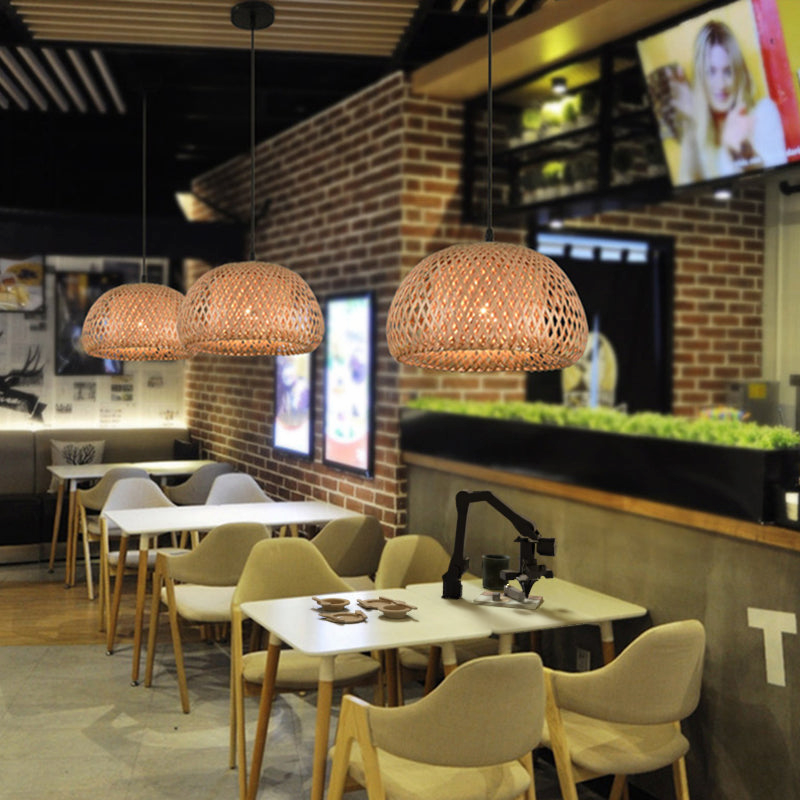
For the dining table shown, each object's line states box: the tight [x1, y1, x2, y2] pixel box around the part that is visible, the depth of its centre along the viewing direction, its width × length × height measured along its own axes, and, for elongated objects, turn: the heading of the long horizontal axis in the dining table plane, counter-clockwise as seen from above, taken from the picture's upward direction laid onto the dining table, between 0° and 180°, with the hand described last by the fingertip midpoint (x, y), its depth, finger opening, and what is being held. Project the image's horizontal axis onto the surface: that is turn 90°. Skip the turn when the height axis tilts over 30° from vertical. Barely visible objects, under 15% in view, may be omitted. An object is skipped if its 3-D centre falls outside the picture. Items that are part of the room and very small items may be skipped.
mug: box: [481, 553, 511, 590], centre depth 399 cm, size 11×15×12 cm
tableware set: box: [311, 595, 418, 624], centre depth 349 cm, size 35×29×4 cm
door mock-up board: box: [473, 590, 544, 610], centre depth 372 cm, size 22×18×4 cm
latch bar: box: [503, 583, 525, 601], centre depth 373 cm, size 13×4×4 cm, turn 18°
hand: (526, 598), depth 369 cm, fingers closed
